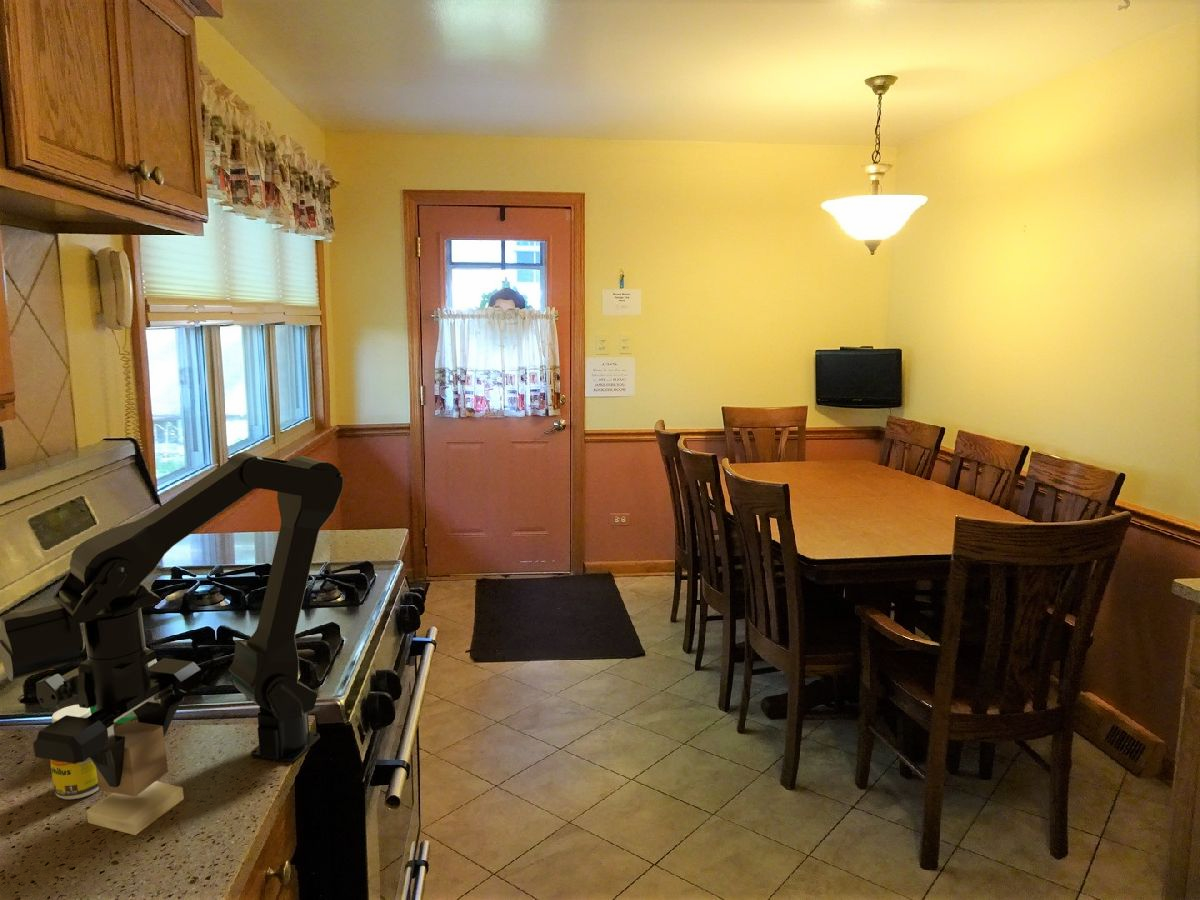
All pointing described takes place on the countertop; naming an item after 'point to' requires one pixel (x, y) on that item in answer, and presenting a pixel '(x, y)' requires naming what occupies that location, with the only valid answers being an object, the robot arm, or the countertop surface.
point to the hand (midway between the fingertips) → (133, 772)
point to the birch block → (135, 808)
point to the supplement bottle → (73, 766)
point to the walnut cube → (139, 758)
